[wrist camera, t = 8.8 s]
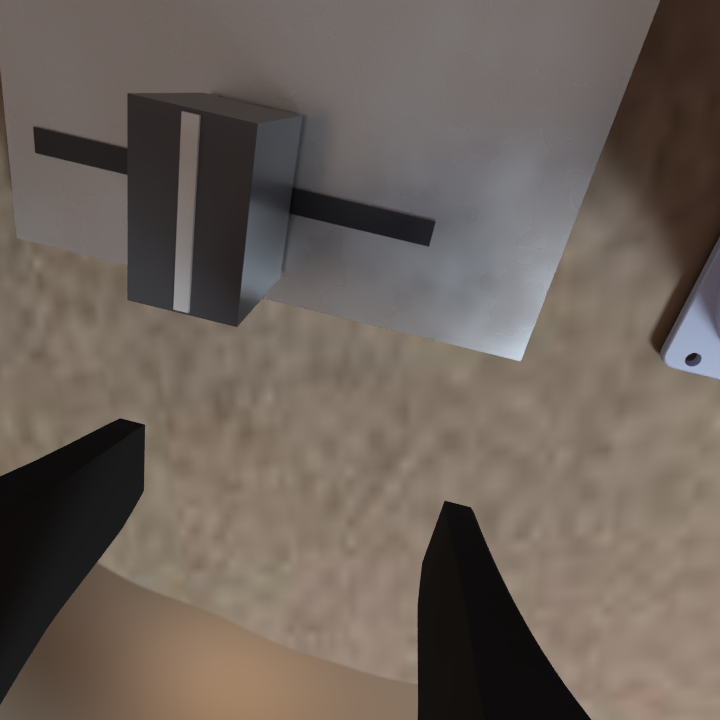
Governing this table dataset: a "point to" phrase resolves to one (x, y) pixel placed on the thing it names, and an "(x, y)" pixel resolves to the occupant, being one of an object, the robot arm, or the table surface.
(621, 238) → the table surface
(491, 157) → the fader panel
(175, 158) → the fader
